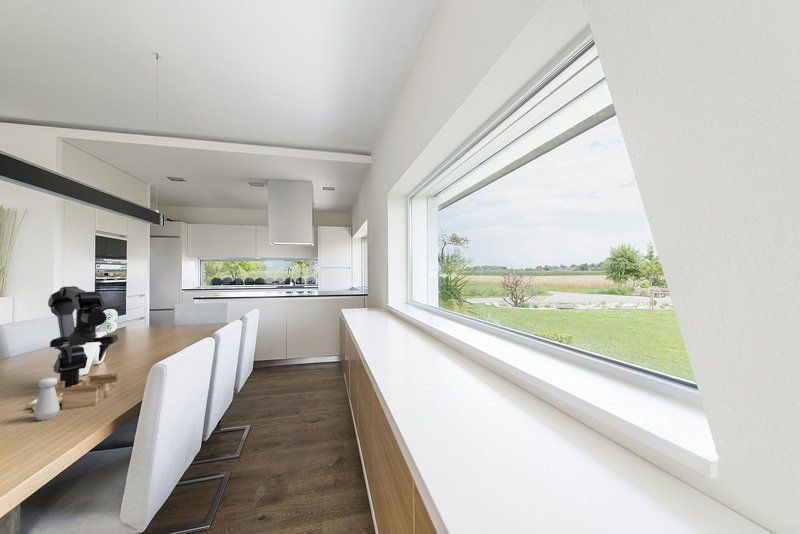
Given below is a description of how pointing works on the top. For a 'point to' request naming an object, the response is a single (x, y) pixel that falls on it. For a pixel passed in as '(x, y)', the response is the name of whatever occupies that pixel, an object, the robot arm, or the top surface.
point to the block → (108, 379)
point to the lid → (59, 389)
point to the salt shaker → (47, 400)
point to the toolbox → (86, 392)
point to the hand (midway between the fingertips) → (84, 362)
